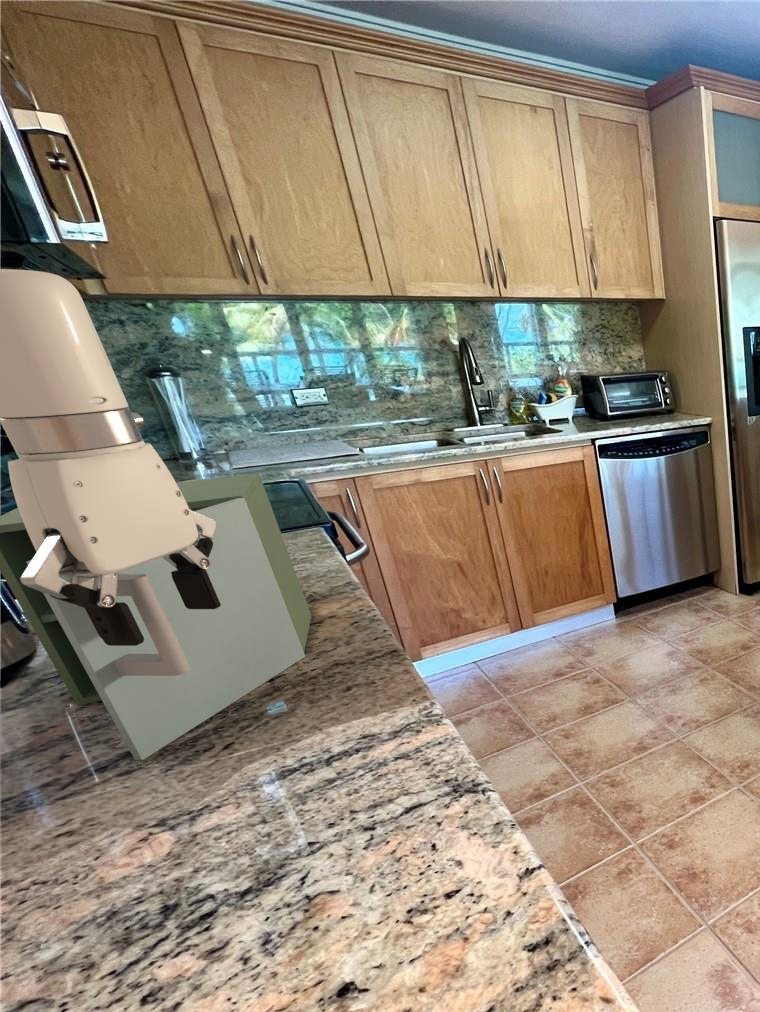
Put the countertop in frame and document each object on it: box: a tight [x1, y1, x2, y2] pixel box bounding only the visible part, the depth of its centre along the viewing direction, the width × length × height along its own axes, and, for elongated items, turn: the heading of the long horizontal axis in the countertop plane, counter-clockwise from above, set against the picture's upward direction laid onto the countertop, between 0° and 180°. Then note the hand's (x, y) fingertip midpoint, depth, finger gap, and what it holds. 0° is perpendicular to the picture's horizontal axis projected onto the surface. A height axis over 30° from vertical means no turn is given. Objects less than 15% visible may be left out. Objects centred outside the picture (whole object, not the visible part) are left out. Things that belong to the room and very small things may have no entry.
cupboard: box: [0, 473, 312, 707], centre depth 81 cm, size 15×22×22 cm
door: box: [27, 498, 306, 762], centre depth 69 cm, size 7×22×21 cm, turn 177°
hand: (166, 623), depth 61 cm, fingers open, 7 cm apart
